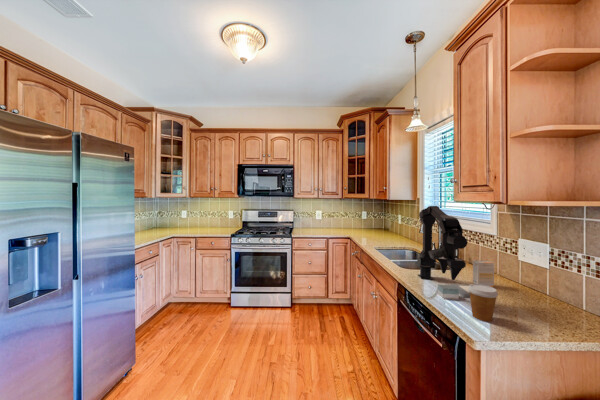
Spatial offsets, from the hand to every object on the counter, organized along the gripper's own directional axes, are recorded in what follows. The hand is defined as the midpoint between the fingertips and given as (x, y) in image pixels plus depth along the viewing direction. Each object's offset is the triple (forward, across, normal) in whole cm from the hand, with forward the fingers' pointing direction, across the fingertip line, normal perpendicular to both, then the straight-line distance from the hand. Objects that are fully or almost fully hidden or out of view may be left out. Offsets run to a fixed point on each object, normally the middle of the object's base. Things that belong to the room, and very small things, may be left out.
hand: (448, 276), depth 114 cm
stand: (+10, -7, +14) cm, 18 cm away
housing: (+10, 0, 0) cm, 10 cm away
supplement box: (+10, -18, +26) cm, 33 cm away
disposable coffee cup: (+10, +19, +4) cm, 22 cm away
